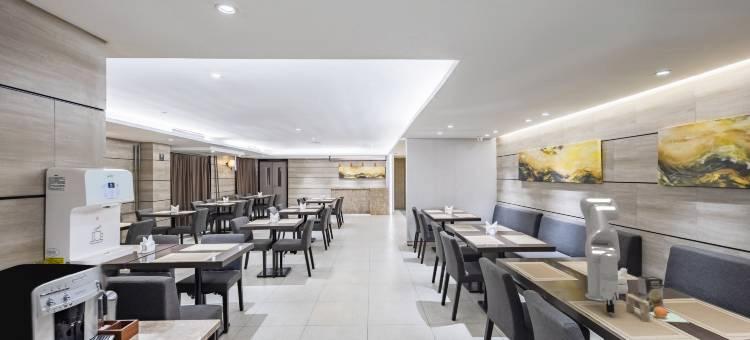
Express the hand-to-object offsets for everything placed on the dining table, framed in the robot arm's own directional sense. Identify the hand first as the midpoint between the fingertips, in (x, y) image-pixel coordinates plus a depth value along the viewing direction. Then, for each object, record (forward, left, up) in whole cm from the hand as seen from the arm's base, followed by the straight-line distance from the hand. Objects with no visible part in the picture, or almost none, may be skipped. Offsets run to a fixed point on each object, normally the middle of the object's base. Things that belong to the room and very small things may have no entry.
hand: (610, 312), depth 182 cm
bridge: (0, +13, -2) cm, 13 cm away
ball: (+1, +23, +1) cm, 23 cm away
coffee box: (-15, +28, -2) cm, 32 cm away
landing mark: (0, +27, -2) cm, 27 cm away
